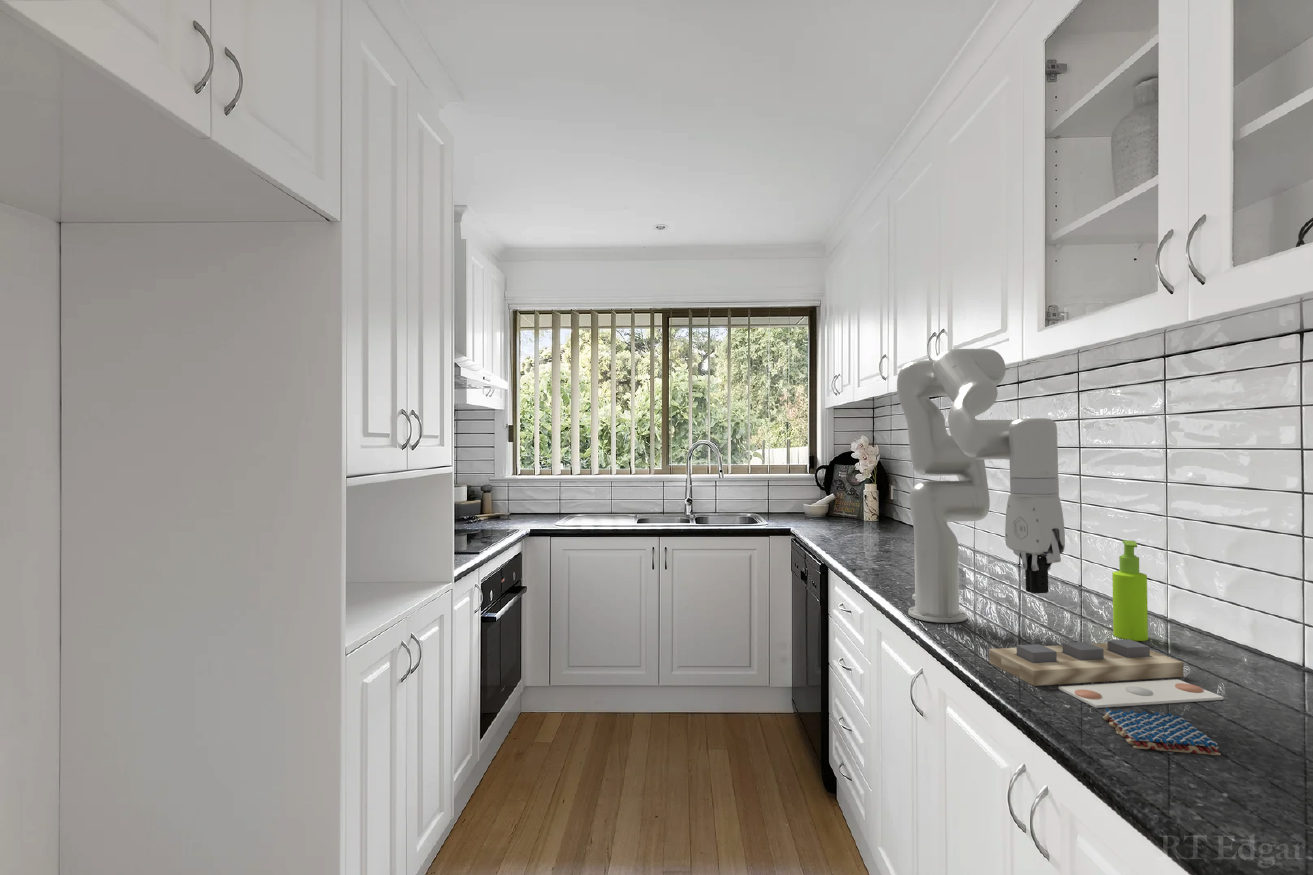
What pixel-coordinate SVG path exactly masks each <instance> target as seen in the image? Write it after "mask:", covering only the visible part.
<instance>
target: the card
mask: <svg viewBox="0 0 1313 875" xmlns="http://www.w3.org/2000/svg"><path fill="white" fill-rule="evenodd" d="M1058 690H1060V691H1061V692H1063V693H1065V694H1066V695H1067V694H1068V695H1070V696H1071V697H1074V698H1075V699H1078V700H1080V701H1081V702H1083V703H1084V704H1087V705H1089V706H1091V707H1093V708H1095V709H1099V708H1100V709H1101V708H1114V707H1117V708H1118V707H1131V706H1147V705H1149V706H1150V705H1159V704H1160V705H1164V704H1177V703H1178V704H1179V703H1191V702H1192V703H1193V702H1205V701H1206V702H1207V701H1208V702H1209V701H1221V700H1223V701H1224V696H1222V695H1220V694H1216V693H1215V692H1212V691H1209V690H1207V689H1205V688H1203V687H1201V686H1198V685H1195V684H1191V683H1188V682H1185V681H1183V680H1181V679H1177V678H1176V679H1161V680H1160V679H1159V680H1146V681H1145V680H1144V681H1132V682H1131V681H1127V682H1115V683H1112V682H1111V683H1095V684H1082V685H1081V684H1080V685H1079V684H1078V685H1066V686H1065V685H1064V686H1058Z"/></svg>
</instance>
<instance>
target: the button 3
mask: <svg viewBox="0 0 1313 875" xmlns="http://www.w3.org/2000/svg"><path fill="white" fill-rule="evenodd" d="M1107 643H1108V651H1110V652H1113V653H1116V654H1118V655H1121V656H1123V657H1126V658H1135V657H1150V650H1151V649H1150V648H1151V647H1150V645H1147V644H1145V643H1140V642H1139V641H1133V640H1130V639H1126V640H1125V639H1109V640H1107Z"/></svg>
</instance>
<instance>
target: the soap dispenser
mask: <svg viewBox="0 0 1313 875" xmlns="http://www.w3.org/2000/svg"><path fill="white" fill-rule="evenodd" d="M1122 543H1123V554H1122V555H1119V558H1118V559H1119V561H1118V562H1119V563H1118V564H1119V566H1118V567H1119V570H1117V571H1113V572H1112V575H1111V576H1112V623H1113V624H1112V626H1113V627H1112V628H1113V629H1112V631H1113V636H1114V637H1115V638H1118V639H1120V640H1126V639H1130V640H1133V641H1135V642H1145V641H1148V639H1149V621H1148V620H1149V618H1148V617H1149V615H1148V614H1149V613H1148V610H1149V609H1148V575H1147V574H1145V573H1144V572H1143V573H1142V572H1140V557H1139V556H1137V555H1135V548H1138V543H1137V542H1136V541H1135V540H1126V539H1124V540H1123V539H1122Z"/></svg>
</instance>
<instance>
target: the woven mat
mask: <svg viewBox="0 0 1313 875" xmlns="http://www.w3.org/2000/svg"><path fill="white" fill-rule="evenodd" d="M1105 712H1106V713H1105V715H1104V716H1102V718H1103V719H1104V720H1105V721H1108V725H1110V726H1111V728H1115V730H1116V731H1115V733H1116V734H1118V735H1120V736H1121V737H1122V738H1125V740H1126V742H1127V743H1128V744H1129V745H1131V746H1132V747H1133V748H1134V749H1138V750H1139V749H1140V750H1141V749H1142V750H1153V751H1154V750H1155V751H1166V752H1178V753H1187V754H1191V753H1192V754H1200V755H1201V754H1202V755H1213V756H1222V755H1221V752H1219V750H1218V749H1219V746H1218V743H1217V742H1216V741H1213V740H1212V739H1211V738H1210V737H1208V735H1207V734H1204V732H1202V731H1200V730H1199V728H1196V727H1195V726H1193V724H1191V723H1190V722H1189V721H1187V720H1186V719H1184V718H1183V717H1182V716H1181V715H1173V714H1172V713H1168V712H1167V714H1160V713H1159V712H1154V713H1153V714H1152V713H1149V714H1148V712H1147V711H1145V710H1144V711H1141V712H1140V713H1139V712H1136V713H1135V710H1129V712H1127V711H1124V712H1123V710H1122V709H1117V711H1115V710H1112V711H1111V710H1110V709H1109V708H1105Z"/></svg>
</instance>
